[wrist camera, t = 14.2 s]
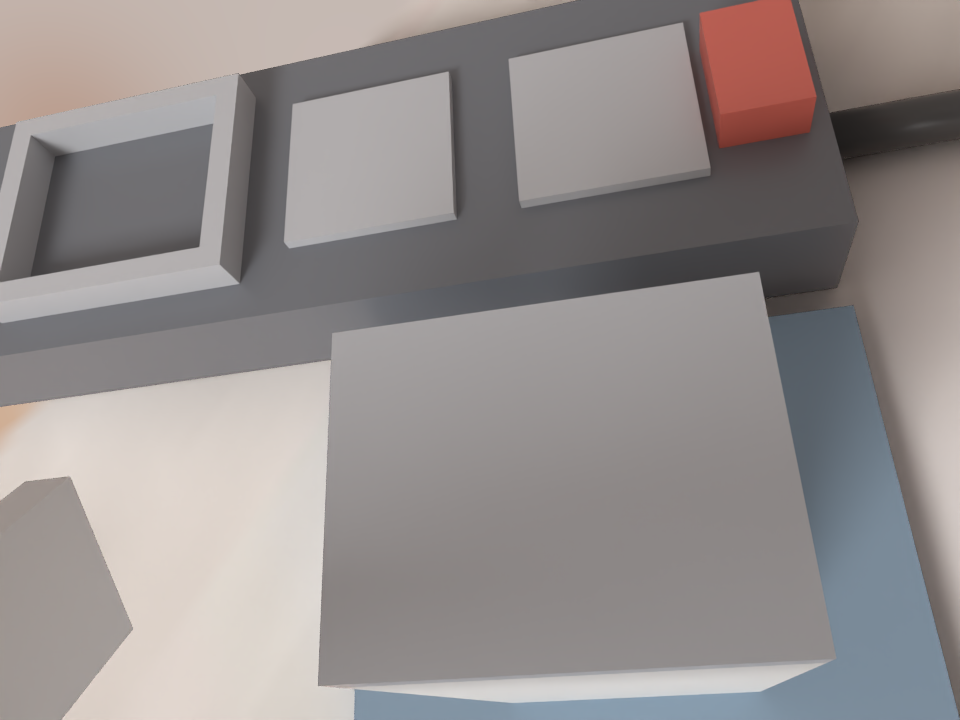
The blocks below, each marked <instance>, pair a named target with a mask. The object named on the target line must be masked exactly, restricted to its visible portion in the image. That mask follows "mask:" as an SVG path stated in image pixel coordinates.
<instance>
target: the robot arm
mask: <svg viewBox="0 0 960 720" xmlns="http://www.w3.org/2000/svg"><path fill="white" fill-rule="evenodd" d="M132 630H133V627H132V624H131V622H130V620H129V617H128V615H127V612H126V610H125V608H124V605H123V603H122V600H121V598H120V596H119V593H118V591H117V588H116V586H115V583H114V581H113V579H112V576H111V574H110V571H109V569H108V567H107V564H106V562H105V559H104V557H103V555H102V552H101V550H100V547H99V545H98V543H97V540H96V538H95V535H94V533H93V530H92V528H91V526H90V523H89V521H88V518H87V516H86V514H85V511H84V509H83V506H82V504H81V502H80V499H79V497H78V494H77V492H76V490H75V487H74V485H73V482H72V480H71V477H61V478H53V479H44V480H35V481H27V482H24V483H23V484H22V485H20V486H19V487H18V488H16V489H15V490H14V491H13V492H11V493H10V494H9V495H7V496H6V497H5V498H4V499H2V500H1V501H0V720H61V719H62V718H63V717H64V716H65V714H66V713H67V712H68V710H69V709H70V708H71V707H72V705H73V704H74V703H75V702H76V700H77V699H78V698H79V697H80V695H81V694H82V693H83V692H84V690H85V689H86V688H87V686H88V685H89V684H90V683H91V681H92V680H93V679H94V678H95V676H96V675H97V674H98V673H99V671H100V670H101V669H102V668H103V666H104V665H105V664H106V662H107V661H108V660H109V659H110V657H111V656H112V655H113V654H114V652H115V651H116V650H117V649H118V647H119V646H120V645H121V644H122V642H123V641H124V640H125V638H126V637H127V636H128V635H129V633H130V632H131V631H132Z"/></svg>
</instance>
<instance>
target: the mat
mask: <svg viewBox="0 0 960 720" xmlns="http://www.w3.org/2000/svg"><path fill="white" fill-rule="evenodd" d="M768 319H769V324H770V329H771V334H772V339H773V344H774V349H775V354H776V359H777V364H778V369H779V374H780V379H781V384H782V389H783V394H784V399H785V404H786V409H787V414H788V419H789V424H790V429H791V434H792V439H793V444H794V449H795V454H796V459H797V464H798V469H799V474H800V479H801V484H802V489H803V494H804V499H805V504H806V509H807V514H808V519H809V524H810V529H811V534H812V539H813V544H814V549H815V554H816V559H817V564H818V569H819V574H820V579H821V584H822V589H823V594H824V599H825V604H826V609H827V614H828V619H829V624H830V629H831V634H832V639H833V644H834V649H835V654H836V659H835V660H832V661H830V662H828V663H825V664H823V665H821V666H818V667H816V668H814V669H812V670H809V671H807V672H805V673H802V674H800V675H798V676H795V677H793V678H791V679H788V680H786V681H784V682H782V683H779V684H777V685H775V686H772V687H770V688H768V689H765V690H763V691H761V692H744V693H722V694H700V695H679V696H657V697H635V698H613V699H591V700H569V701H547V702H525V703H506V702H495V701H484V700H472V699H461V698H450V697H438V696H427V695H416V694H404V693H393V692H382V691H370V690H359V689H355V711H354V720H960V718H959V715H958V711H957V707H956V703H955V699H954V695H953V691H952V687H951V683H950V680H949V676H948V672H947V668H946V664H945V660H944V656H943V652H942V648H941V644H940V641H939V637H938V633H937V629H936V625H935V621H934V617H933V613H932V609H931V606H930V602H929V598H928V594H927V590H926V586H925V582H924V578H923V574H922V570H921V567H920V563H919V559H918V555H917V551H916V547H915V543H914V539H913V535H912V532H911V528H910V524H909V520H908V516H907V512H906V508H905V504H904V500H903V497H902V493H901V489H900V485H899V481H898V477H897V473H896V469H895V465H894V461H893V458H892V454H891V450H890V446H889V442H888V438H887V434H886V430H885V426H884V423H883V419H882V415H881V411H880V407H879V403H878V399H877V395H876V391H875V387H874V384H873V380H872V376H871V372H870V368H869V364H868V360H867V356H866V352H865V349H864V345H863V341H862V337H861V333H860V329H859V325H858V321H857V317H856V313H855V310H854V306H853V305H852V306H844V307H837V308H830V309H823V310H815V311H808V312H801V313H794V314H786V315H779V316H772V317H768Z"/></svg>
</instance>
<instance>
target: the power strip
mask: <svg viewBox="0 0 960 720" xmlns="http://www.w3.org/2000/svg"><path fill="white" fill-rule="evenodd" d="M955 139H960V89H958V90H952V91H947V92H941V93H936V94H930V95H925V96H919V97H914V98H908V99H903V100H897V101H892V102H886V103H881V104H875V105H870V106H864V107H859V108H854V109H848V110H843V111H837V112H832V113H829V111H828V107H827V104H826V100H825V96H824V93H823V89H822V85H821V82H820V78H819V74H818V71H817V67H816V63H815V60H814V56H813V52H812V49H811V45H810V41H809V38H808V34H807V30H806V27H805V23H804V19H803V16H802V12H801V8H800V5H799V1H798V0H577V1H573V2H568V3H563V4H559V5H554V6H550V7H545V8H541V9H536V10H532V11H527V12H523V13H518V14H514V15H509V16H504V17H500V18H495V19H491V20H486V21H482V22H477V23H473V24H468V25H464V26H459V27H455V28H450V29H445V30H441V31H436V32H432V33H427V34H423V35H418V36H414V37H409V38H405V39H400V40H396V41H391V42H386V43H382V44H377V45H373V46H368V47H364V48H359V49H355V50H350V51H346V52H341V53H337V54H332V55H328V56H324V57H319V58H314V59H310V60H305V61H300V62H296V63H292V64H287V65H282V66H278V67H273V68H269V69H264V70H260V71H255V72H250V73H246V74H241V75H239V73H237V74H233V75H229V76H224V77H220V78H215V79H210V80H206V81H201V82H197V83H192V84H187V85H183V86H178V87H174V88H169V89H165V90H161V91H156V92H151V93H147V94H142V95H138V96H133V97H129V98H124V99H120V100H115V101H111V102H106V103H101V104H97V105H92V106H88V107H84V108H79V109H74V110H70V111H66V112H61V113H56V114H52V115H47V116H43V117H39V118H34V119H29V120H25V121H20V122H17V123H16V124H15V125H10V126H6V127H1V128H0V407H2V406H9V405H16V404H23V403H30V402H37V401H44V400H51V399H58V398H65V397H72V396H79V395H86V394H93V393H100V392H107V391H114V390H122V389H129V388H136V387H143V386H150V385H157V384H164V383H171V382H178V381H185V380H192V379H199V378H206V377H213V376H220V375H227V374H234V373H241V372H248V371H255V370H262V369H269V368H276V367H283V366H290V365H297V364H304V363H311V362H318V361H325V360H331V351H332V333H337V332H344V331H350V330H357V329H364V328H371V327H378V326H385V325H392V324H399V323H406V322H413V321H420V320H427V319H434V318H441V317H448V316H455V315H462V314H469V313H476V312H483V311H490V310H497V309H504V308H511V307H518V306H525V305H532V304H539V303H546V302H553V301H560V300H567V299H574V298H581V297H588V296H595V295H602V294H609V293H615V292H622V291H629V290H636V289H643V288H650V287H657V286H664V285H671V284H678V283H685V282H692V281H699V280H706V279H713V278H720V277H727V276H734V275H741V274H748V273H755V272H759V274H760V279H761V284H762V289H763V294H764V298H767V297H774V296H781V295H788V294H795V293H802V292H809V291H816V290H823V289H830V288H837V287H838V284H839V280H840V277H841V274H842V271H843V268H844V265H845V262H846V259H847V256H848V253H849V250H850V247H851V244H852V241H853V237H854V234H855V231H856V228H857V225H858V222H859V221H858V218H857V214H856V210H855V207H854V203H853V199H852V196H851V192H850V188H849V185H848V181H847V177H846V173H845V170H844V166H843V162H842V159H845V158H850V157H856V156H862V155H868V154H874V153H880V152H885V151H891V150H897V149H903V148H909V147H915V146H920V145H926V144H932V143H938V142H944V141H950V140H955Z"/></svg>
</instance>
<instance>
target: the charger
mask: <svg viewBox="0 0 960 720" xmlns="http://www.w3.org/2000/svg"><path fill="white" fill-rule="evenodd" d="M835 659H836V654H835V649H834V644H833V639H832V634H831V629H830V624H829V619H828V614H827V609H826V604H825V599H824V594H823V589H822V584H821V579H820V574H819V569H818V564H817V559H816V554H815V549H814V544H813V539H812V534H811V529H810V524H809V519H808V514H807V509H806V504H805V499H804V494H803V489H802V484H801V479H800V474H799V469H798V464H797V459H796V454H795V449H794V444H793V439H792V434H791V429H790V424H789V419H788V414H787V409H786V404H785V399H784V394H783V389H782V384H781V379H780V374H779V369H778V364H777V359H776V354H775V349H774V344H773V339H772V334H771V329H770V324H769V319H768V314H767V309H766V304H765V299H764V294H763V289H762V284H761V279H760V274H759V272H755V273H748V274H741V275H734V276H727V277H720V278H713V279H706V280H699V281H692V282H685V283H678V284H671V285H664V286H657V287H650V288H643V289H636V290H629V291H622V292H615V293H609V294H602V295H595V296H588V297H581V298H574V299H567V300H560V301H553V302H546V303H539V304H532V305H525V306H518V307H511V308H504V309H497V310H490V311H483V312H476V313H469V314H462V315H455V316H448V317H441V318H434V319H427V320H420V321H413V322H406V323H399V324H392V325H385V326H378V327H371V328H364V329H357V330H350V331H344V332H337V333H332V351H331V376H330V401H329V425H328V450H327V475H326V499H325V524H324V549H323V573H322V598H321V622H320V647H319V672H318V686H325V687H336V688H348V689H359V690H370V691H382V692H393V693H404V694H416V695H427V696H438V697H450V698H461V699H472V700H484V701H495V702H506V703H525V702H547V701H569V700H591V699H613V698H635V697H657V696H679V695H700V694H722V693H744V692H761V691H763V690H765V689H768V688H770V687H772V686H775V685H777V684H779V683H782V682H784V681H786V680H788V679H791V678H793V677H795V676H798V675H800V674H802V673H805V672H807V671H809V670H812V669H814V668H816V667H818V666H821V665H823V664H825V663H828V662H830V661H832V660H835Z"/></svg>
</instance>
